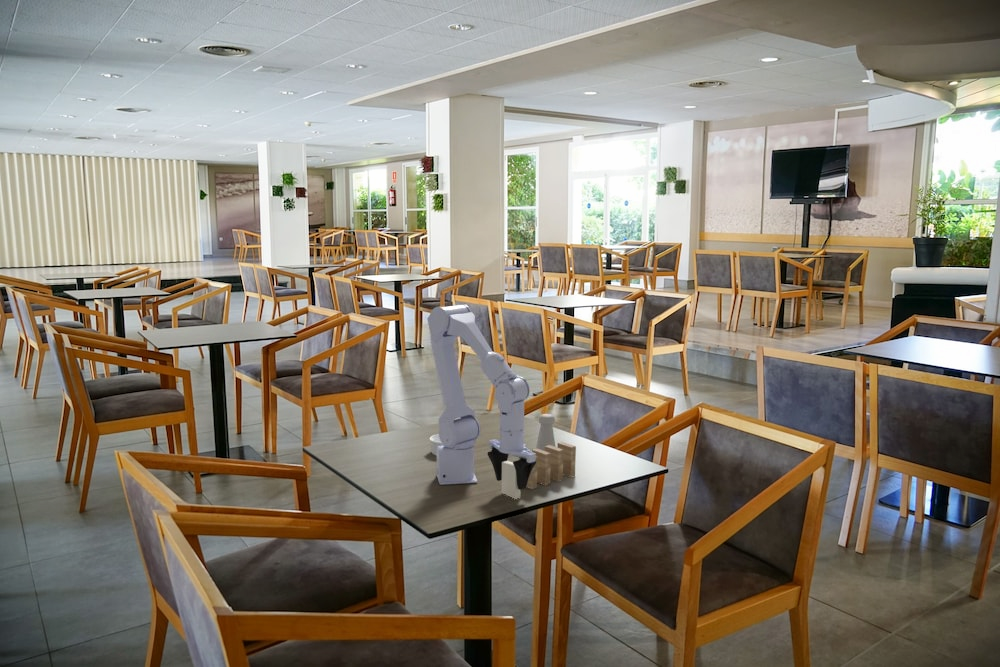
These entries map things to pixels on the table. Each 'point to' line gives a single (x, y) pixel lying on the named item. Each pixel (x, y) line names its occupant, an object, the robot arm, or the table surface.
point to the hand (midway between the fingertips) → (511, 484)
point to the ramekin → (435, 443)
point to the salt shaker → (546, 431)
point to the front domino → (509, 480)
